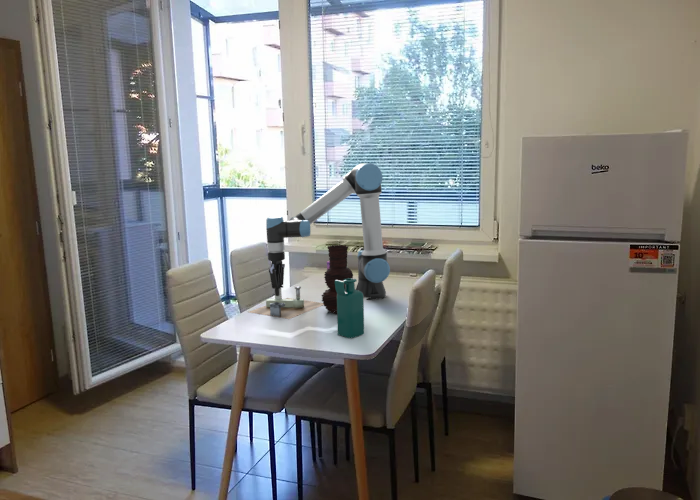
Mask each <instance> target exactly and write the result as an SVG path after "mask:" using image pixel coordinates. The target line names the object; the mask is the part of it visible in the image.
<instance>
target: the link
mask: <svg viewBox="0 0 700 500" xmlns="http://www.w3.org/2000/svg"><path fill="white" fill-rule="evenodd" d="M304 300H305V299H303V298H300V300H296V298H292V299H286V298H282V299H275V298H267V299H265V303H266V304H265V306H266V307H270V304H272V303H274V302H279V303H285V306H284V307H293V308H302V307H304Z"/></svg>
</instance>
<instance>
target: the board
mask: <svg viewBox="0 0 700 500" xmlns="http://www.w3.org/2000/svg"><path fill="white" fill-rule="evenodd" d="M285 299H293V298H289V297H286V298H285ZM322 306H323V307H324V304H323V302H318V301H311V300H305V299H304V307H302V308H293V307H281V317H277V316H271V315H270V307H266V305H264V306H260V307H258V308H256V309H253V310H249V311H248V313H251V314H257V315H263V316H270V317H275V318H279V319H280V318H281V319H284V320H285V319H288V320H291V319H293V318H295V317H298V316H301V315H302V314H303V315H304V314H305V313H308V312H310V311H312V310H315V309H317V308H319V307H322Z"/></svg>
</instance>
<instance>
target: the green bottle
mask: <svg viewBox="0 0 700 500" xmlns="http://www.w3.org/2000/svg"><path fill="white" fill-rule="evenodd" d="M357 282H358V279H356V278H354V277H353V278H347V279H344V280H343V281H340V280H335V289H336V292H337V313H336V315H337V316H336V319H337V320H336V321H337V335H338V336H341V337H344V338H347V339H354V338H357V337H361V336H364V335H365V309H364V307H365V306H364V305H365V304H364V303H365V302H364V301H365V299H364V298H365V297H363V293H362V292H361V291H358V290H356V287H355V285H356V284H355V283H357ZM344 284H345V290H344Z"/></svg>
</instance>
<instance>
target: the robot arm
mask: <svg viewBox="0 0 700 500" xmlns="http://www.w3.org/2000/svg"><path fill="white" fill-rule="evenodd" d="M382 183H383V173H382V170H381V169H380V168H379V166H378V165H377V164H374V163H372V162H363V163H362V162H361V163H359V164H356V166H355V167H353V168H352V169H351V170H350V171H349V172H348V173H347V174H345V175H344V176H343V177H342V180H341V181H340V182H338V183H337V184H336V185H334V186H333V187H332V188H330V189H329V190H328V191H327V192H325V193H324V194H323V195H322V196H320V197H319V198H318V199H315V200H314V201H313V202H312V203H310V204H309V205H308V206H307V207H305V208H304V209H302V210H301V211H300V212H298V213H297V214H296V215H295V216H293V217H290V219H289V220H284V218H283V216H269V217H267V218H266V224H265V225H266V226H265V227H266V246H267V251H268V252H267V259H268V261H270V267H271V268H268V273H269V277H270V283H271V289H274V299H283V297H282V296H283V295H282V288H284V281H285V279H284V275H285V266H286V265H285V263H283V261H284V260H285V259H286V257H285V254H286V253H285V250H286V249H285V238H286V239H287V238H306V237H310V236H311V225H312V224H313V223H315V222H316V221H317V220H319V219H320V218H321V217H323V216H324V215H325V214H327V213H328V212H329V211H331V210H332V209H334V207H336V206H337V205H339V204H340V203H341V202H343V201H344V200H345V199H347V198H348V197H350V196H351V195H352V194H355V196H357V197H358V198H359V202H360V215H361V216H360V218H361V225H362V226H361V227H362V237H363V250H359V251H358V252H357V256H356V257H357V270H358V271H357V273H358V274H357V275H358V276H357V278H358V279H357V285H356V287H355V290H358V291H361V292H362V293H363V297H364V298H366V299H365V300H366V301H367V300H369V301H371V300H374V301H375V300H380V299H384V298H386V296H387V291H386V287H385V286H384V281H386V280H387V278H388V277H390V273H391V267H390V263H389V262H388V254H387V250H386V249H384V244H383V236H382V235H383V233H382V220H381V208H380V207H381V206H380V195H381V194H382V192H383V191H382Z"/></svg>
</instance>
